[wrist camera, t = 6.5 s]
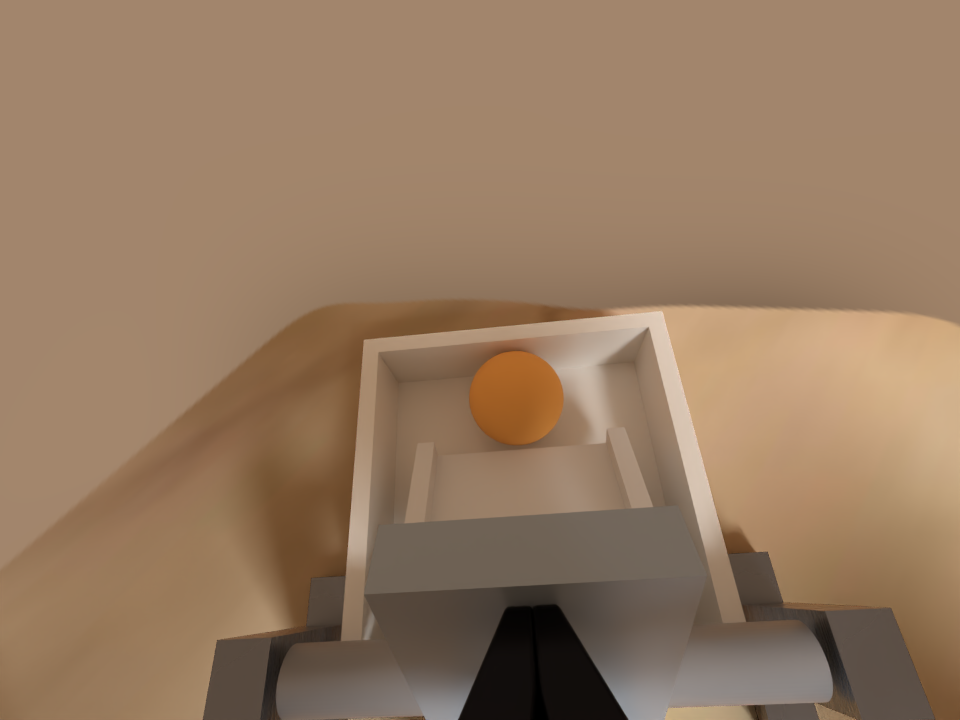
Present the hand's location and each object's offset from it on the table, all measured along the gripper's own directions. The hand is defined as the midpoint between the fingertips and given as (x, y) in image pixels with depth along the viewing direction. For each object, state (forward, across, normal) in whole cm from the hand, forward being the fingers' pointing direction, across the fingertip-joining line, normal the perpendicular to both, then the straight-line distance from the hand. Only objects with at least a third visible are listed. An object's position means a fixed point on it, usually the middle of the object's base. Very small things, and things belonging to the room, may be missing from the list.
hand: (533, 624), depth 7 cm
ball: (+10, 0, +1) cm, 10 cm away
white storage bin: (+10, 0, +4) cm, 11 cm away
